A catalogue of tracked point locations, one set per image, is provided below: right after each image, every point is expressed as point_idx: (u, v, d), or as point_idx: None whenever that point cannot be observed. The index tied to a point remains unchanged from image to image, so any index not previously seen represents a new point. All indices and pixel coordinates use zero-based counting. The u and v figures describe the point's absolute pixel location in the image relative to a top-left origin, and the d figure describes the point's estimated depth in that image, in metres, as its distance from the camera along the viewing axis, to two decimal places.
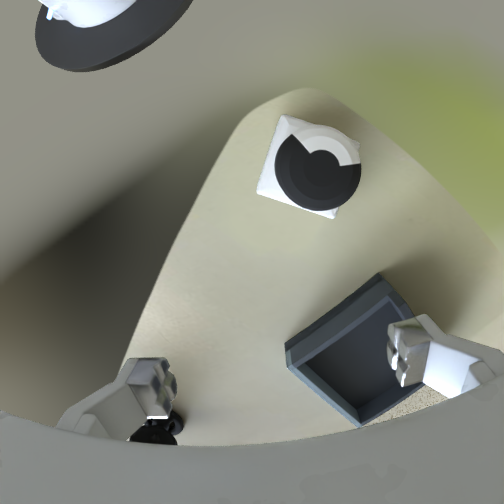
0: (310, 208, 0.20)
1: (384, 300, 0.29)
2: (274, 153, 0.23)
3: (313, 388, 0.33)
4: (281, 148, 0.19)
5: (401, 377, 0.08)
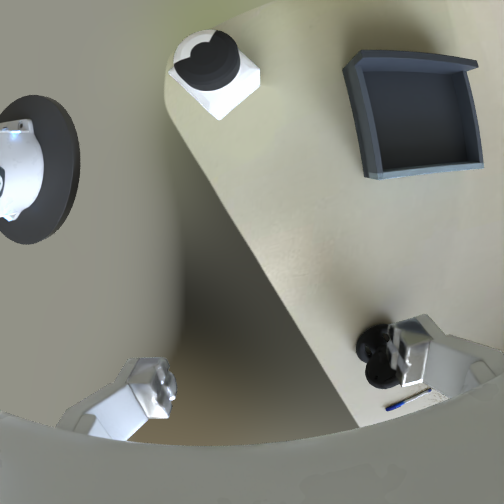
0: (228, 72, 0.22)
1: (358, 69, 0.27)
2: (189, 87, 0.27)
3: (414, 173, 0.30)
4: (178, 74, 0.22)
5: (401, 377, 0.08)
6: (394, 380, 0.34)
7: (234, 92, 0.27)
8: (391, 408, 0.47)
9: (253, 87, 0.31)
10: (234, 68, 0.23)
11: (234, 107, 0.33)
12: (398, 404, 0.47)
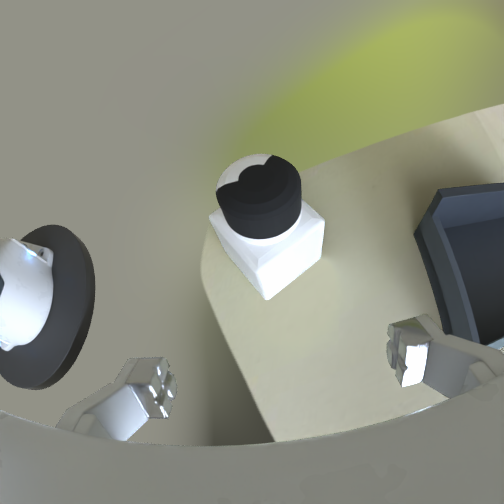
0: (287, 205, 0.19)
1: (436, 221, 0.24)
2: (233, 238, 0.23)
3: None
4: (220, 203, 0.20)
5: (401, 377, 0.08)
6: None
7: (291, 250, 0.23)
8: None
9: (313, 255, 0.27)
10: (295, 202, 0.19)
11: (287, 284, 0.28)
12: None
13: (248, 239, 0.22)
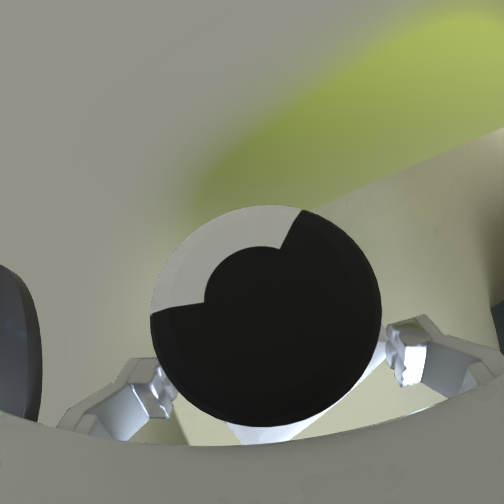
0: (347, 385, 0.06)
1: None
2: None
3: None
4: (160, 360, 0.07)
5: (400, 378, 0.08)
6: None
7: None
8: None
9: None
10: None
11: None
12: None
13: None
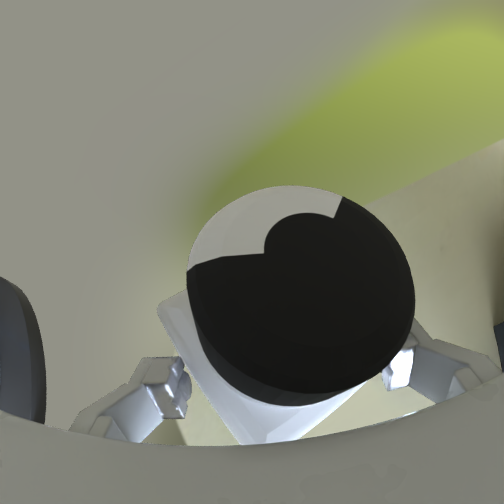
0: (397, 348, 0.06)
1: None
2: (210, 374, 0.09)
3: None
4: (199, 316, 0.06)
5: (387, 382, 0.08)
6: None
7: None
8: None
9: None
10: None
11: None
12: None
13: (254, 400, 0.08)
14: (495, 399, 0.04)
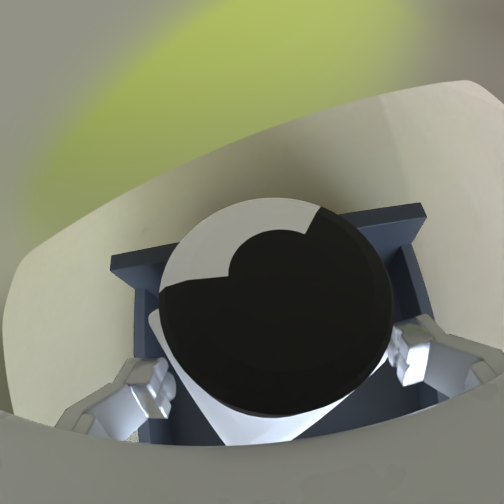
0: (368, 370, 0.06)
1: (138, 297, 0.18)
2: None
3: None
4: (168, 338, 0.06)
5: (402, 377, 0.08)
6: None
7: None
8: None
9: None
10: None
11: None
12: None
13: (234, 410, 0.08)
14: (495, 399, 0.04)
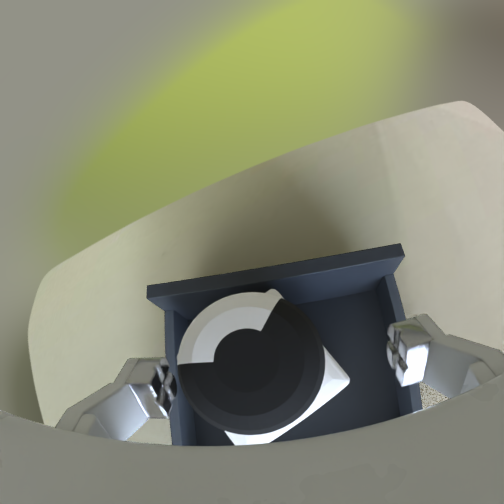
0: (297, 414, 0.10)
1: (168, 317, 0.21)
2: None
3: None
4: (184, 393, 0.11)
5: (401, 377, 0.08)
6: None
7: (296, 423, 0.14)
8: None
9: None
10: (312, 402, 0.10)
11: None
12: None
13: None
14: (495, 399, 0.04)
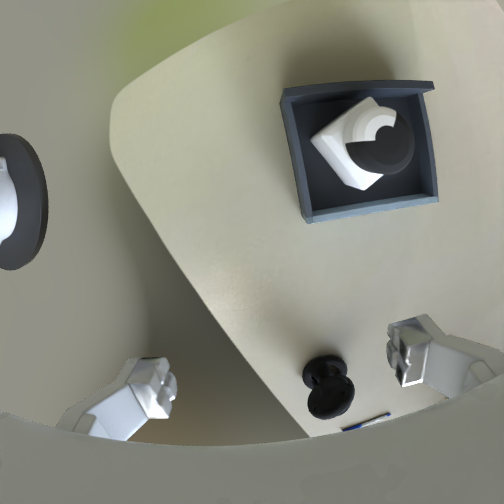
0: (406, 165, 0.22)
1: (287, 107, 0.29)
2: (346, 160, 0.26)
3: (349, 214, 0.32)
4: (359, 155, 0.22)
5: (401, 377, 0.08)
6: (331, 413, 0.36)
7: None
8: None
9: None
10: None
11: None
12: (355, 427, 0.49)
13: (364, 170, 0.25)
14: (495, 399, 0.04)
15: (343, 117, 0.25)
